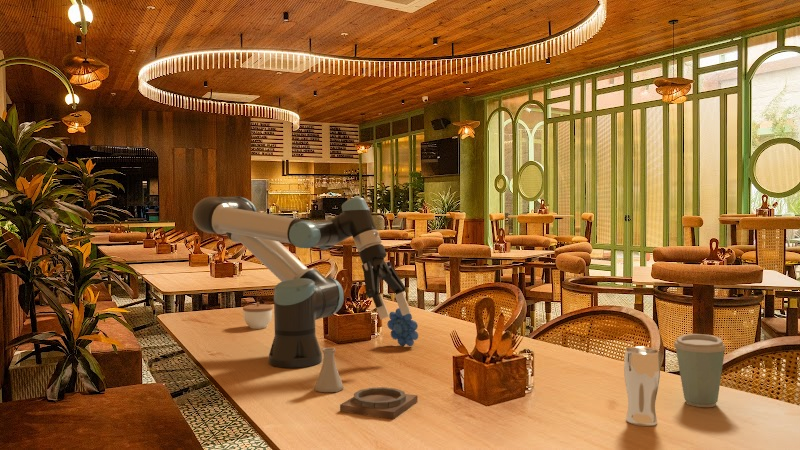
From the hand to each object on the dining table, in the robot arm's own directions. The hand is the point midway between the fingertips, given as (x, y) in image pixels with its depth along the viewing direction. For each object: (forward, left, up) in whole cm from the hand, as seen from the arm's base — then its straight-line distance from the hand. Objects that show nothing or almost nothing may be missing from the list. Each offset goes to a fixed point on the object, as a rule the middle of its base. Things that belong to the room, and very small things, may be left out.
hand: (396, 316), depth 186 cm
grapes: (-7, +19, -14) cm, 25 cm away
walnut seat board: (+13, -38, -13) cm, 42 cm away
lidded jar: (-69, +28, -14) cm, 76 cm away
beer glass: (+68, -26, -14) cm, 74 cm away
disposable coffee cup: (+79, -8, -14) cm, 80 cm away
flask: (-4, -31, -14) cm, 34 cm away
